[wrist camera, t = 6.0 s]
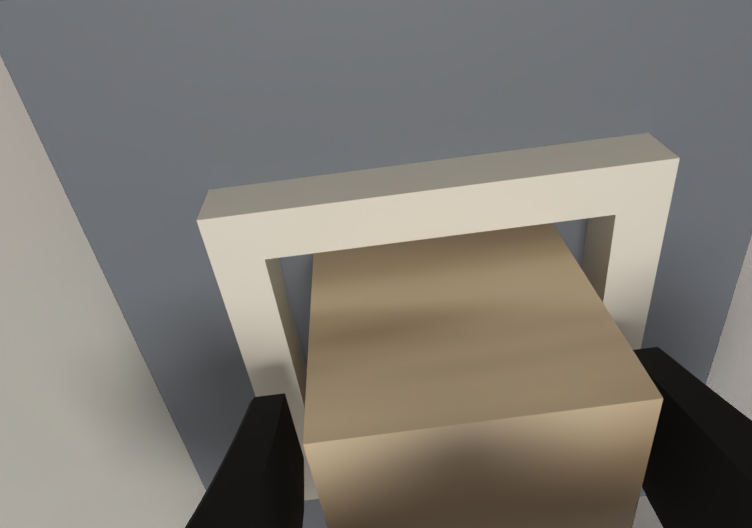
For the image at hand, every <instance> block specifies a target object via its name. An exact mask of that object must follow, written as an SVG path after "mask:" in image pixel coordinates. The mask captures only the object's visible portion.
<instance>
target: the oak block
mask: <svg viewBox="0 0 752 528" xmlns="http://www.w3.org/2000/svg"><path fill="white" fill-rule="evenodd" d="M662 402H663V397H662V395H661V394H660V392H659V391H658V389H657V387H656V386H655V384H654V383H653V381H652V380H651V378H650V376H649V375H648V373H647V372H646V370H645V368H644V367H643V365H642V364H641V362H640V361H639V359H638V357H637V356H636V354H635V353H634V351H633V350H632V348H631V346H630V345H629V343H628V342H627V340H626V338H625V337H624V335H623V334H622V332H621V331H620V329H619V327H618V326H617V324H616V323H615V321H614V320H613V318H612V316H611V315H610V313H609V312H608V310H607V308H606V307H605V305H604V304H603V302H602V301H601V299H600V297H599V296H598V294H597V293H596V291H595V290H594V288H593V286H592V285H591V283H590V282H589V280H588V279H587V277H586V275H585V274H584V272H583V271H582V269H581V267H580V266H579V264H578V263H577V261H576V260H575V258H574V256H573V255H572V253H571V252H570V250H569V249H568V247H567V245H566V244H565V242H564V241H563V239H562V237H561V236H560V234H559V233H558V231H557V230H556V228H555V226H554V225H553V223H547V224H539V225H531V226H523V227H515V228H508V229H500V230H492V231H484V232H476V233H468V234H461V235H453V236H445V237H437V238H429V239H422V240H414V241H406V242H398V243H390V244H382V245H375V246H367V247H359V248H351V249H343V250H336V251H328V252H320V253H313V271H312V289H311V307H310V325H309V343H308V361H307V378H306V396H305V414H304V432H303V447H304V450H305V453H306V457H307V460H308V463H309V467H310V470H311V473H312V477H313V480H314V484H315V487H316V490H317V494H318V497H319V500H320V504H321V507H322V510H323V514H324V517H325V520H326V524H327V527H328V528H632V525H633V521H634V517H635V512H636V508H637V504H638V500H639V496H640V492H641V488H642V484H643V480H644V476H645V472H646V468H647V463H648V459H649V455H650V451H651V447H652V443H653V439H654V435H655V431H656V427H657V423H658V419H659V415H660V410H661V406H662Z"/></svg>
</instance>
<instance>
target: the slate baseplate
mask: <svg viewBox="0 0 752 528" xmlns="http://www.w3.org/2000/svg"><path fill="white" fill-rule="evenodd" d="M0 55H1V57H2V59H3V61H4V64H5V66H6V68H7V70H8V72H9V74H10V76H11V78H12V80H13V83H14V85H15V87H16V89H17V91H18V93H19V95H20V97H21V100H22V102H23V104H24V106H25V108H26V110H27V112H28V114H29V116H30V119H31V121H32V123H33V125H34V127H35V129H36V131H37V133H38V136H39V138H40V140H41V142H42V144H43V146H44V148H45V150H46V152H47V155H48V157H49V159H50V161H51V163H52V165H53V167H54V169H55V171H56V174H57V176H58V178H59V180H60V182H61V184H62V186H63V188H64V191H65V193H66V195H67V197H68V199H69V201H70V203H71V205H72V207H73V210H74V212H75V214H76V216H77V218H78V220H79V222H80V224H81V227H82V229H83V231H84V233H85V235H86V237H87V239H88V241H89V243H90V246H91V248H92V250H93V252H94V254H95V256H96V258H97V260H98V263H99V265H100V267H101V269H102V271H103V273H104V275H105V277H106V279H107V282H108V284H109V286H110V288H111V290H112V292H113V294H114V296H115V298H116V301H117V303H118V305H119V307H120V309H121V311H122V313H123V315H124V318H125V320H126V322H127V324H128V326H129V328H130V330H131V332H132V334H133V337H134V339H135V341H136V343H137V345H138V347H139V349H140V351H141V354H142V356H143V358H144V360H145V362H146V364H147V366H148V368H149V370H150V373H151V375H152V377H153V379H154V381H155V383H156V385H157V387H158V390H159V392H160V394H161V396H162V398H163V400H164V402H165V404H166V406H167V409H168V411H169V413H170V415H171V417H172V419H173V421H174V423H175V426H176V428H177V430H178V432H179V434H180V436H181V438H182V440H183V442H184V445H185V447H186V449H187V451H188V453H189V455H190V457H191V459H192V461H193V464H194V466H195V468H196V470H197V472H198V474H199V476H200V478H201V481H202V483H203V485H204V487H205V489H206V491H207V489H208V487H209V485H210V483H211V482H212V480H213V478H214V476H215V474H216V472H217V470H218V468H219V467H220V465H221V463H222V461H223V459H224V457H225V455H226V453H227V451H228V449H229V447H230V445H231V443H232V441H233V439H234V437H235V435H236V433H237V430H238V428H239V426H240V424H241V422H242V420H243V417H244V415H245V413H246V411H247V408H248V406H249V404H250V402H251V400H252V399H253V398H254V397H259V396H267V395H275V394H283V393H285V395H286V399H287V402H288V405H289V409H290V412H291V416H292V419H293V423H294V426H295V429H296V433H297V436H298V440H299V443H300V446H301V450H302V453H303V457H304V517H303V527H302V528H328V527H327V524H326V520H325V517H324V514H323V510H322V507H321V504H320V500H319V497H318V494H317V490H316V487H315V484H314V480H313V477H312V473H311V470H310V467H309V463H308V460H307V457H306V453H305V450H304V447H303V432H304V414H305V396H306V378H307V361H308V343H309V325H310V307H311V289H312V271H313V253H320V252H328V251H336V250H343V249H351V248H359V247H367V246H375V245H382V244H390V243H398V242H406V241H414V240H422V239H429V238H437V237H445V236H453V235H461V234H468V233H476V232H484V231H492V230H500V229H508V228H515V227H523V226H531V225H539V224H547V223H553V225H554V226H555V228H556V230H557V231H558V233H559V234H560V236H561V237H562V239H563V241H564V242H565V244H566V245H567V247H568V249H569V250H570V252H571V253H572V255H573V256H574V258H575V260H576V261H577V263H578V264H579V266H580V267H581V269H582V271H583V272H584V274H585V275H586V277H587V279H588V280H589V282H590V283H591V285H592V286H593V288H594V290H595V291H596V293H597V294H598V296H599V297H600V299H601V301H602V302H603V304H604V305H605V307H606V308H607V310H608V312H609V313H610V315H611V316H612V318H613V320H614V321H615V323H616V324H617V326H618V327H619V329H620V331H621V332H622V334H623V335H624V337H625V338H626V340H627V342H628V343H629V345H630V346H631V348H632V350H636V349H644V348H652V347H659V348H660V349H661V350H663V351H664V352H665V353H666V354H668V355H669V356H670V357H672V358H673V359H674V360H675V361H676V362H678V363H679V364H680V365H681V366H683V367H684V368H685V369H686V370H688V371H689V372H690V373H691V374H693V375H694V376H695V377H696V378H698V379H699V380H700V381H701V382H703V383H704V384H706V381H707V378H708V375H709V371H710V368H711V365H712V362H713V358H714V355H715V352H716V349H717V345H718V342H719V339H720V336H721V332H722V329H723V326H724V323H725V319H726V316H727V313H728V310H729V306H730V303H731V300H732V297H733V293H734V290H735V287H736V284H737V280H738V277H739V274H740V271H741V268H742V264H743V261H744V258H745V255H746V251H747V248H748V245H749V242H750V238H751V235H752V0H0ZM640 496H646V494H645V492H644V490H643V488H641V492H640ZM640 496H639V497H640Z"/></svg>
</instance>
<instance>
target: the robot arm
mask: <svg viewBox="0 0 752 528" xmlns="http://www.w3.org/2000/svg"><path fill="white" fill-rule="evenodd" d="M633 351H634V353H635V354H636V356H637V357H638V359H639V361H640V362H641V364H642V365H643V367H644V368H645V370H646V372H647V373H648V375H649V376H650V378H651V380H652V381H653V383H654V384H655V386H656V387H657V389H658V391H659V392H660V394H661V395H662V397H663V402H662V406H661V410H660V415H659V419H658V423H657V427H656V431H655V435H654V439H653V443H652V447H651V451H650V455H649V459H648V463H647V468H646V472H645V476H644V480H643V484H642V488H643V490H644V492H645V494H646V496H647V498H648V500H649V501H650V503H651V505H652V507H653V509H654V511H655V513H656V515H657V516H658V518H659V520H660V522H661V524H662V526H663V528H752V421H751V420H750V419H749V418H747V417H746V416H745V415H743V414H742V413H741V412H740V411H738V410H737V409H736V408H734V407H733V406H732V405H730V404H729V403H728V402H727V401H725V400H724V399H723V398H721V397H720V396H719V395H718V394H716V393H715V392H714V391H713V390H711V389H710V388H709V387H708V386H706V385H705V384H704V383H703V382H701V381H700V380H699V379H698V378H696V377H695V376H694V375H693V374H691V373H690V372H689V371H688V370H686V369H685V368H684V367H683V366H681V365H680V364H679V363H678V362H676V361H675V360H674V359H673V358H672V357H670V356H669V355H668V354H666V353H665V352H664V351H663V350H661V349H660V348H659V347H652V348H644V349H636V350H633ZM303 517H304V457H303V453H302V450H301V446H300V443H299V440H298V436H297V433H296V429H295V426H294V423H293V419H292V416H291V412H290V409H289V405H288V402H287V399H286V395H285V393H283V394H275V395H267V396H259V397H254V398H253V399H252V400H251V402H250V404H249V406H248V408H247V411H246V413H245V415H244V417H243V420H242V422H241V424H240V426H239V428H238V430H237V433H236V435H235V437H234V439H233V441H232V443H231V445H230V447H229V449H228V451H227V453H226V455H225V457H224V459H223V461H222V463H221V465H220V467H219V468H218V470H217V472H216V474H215V476H214V478H213V480H212V482H211V483H210V485H209V487H208V489H207V491H206V493H205V495H204V496H203V498H202V500H201V502H200V503H199V505H198V507H197V509H196V510H195V512H194V514H193V515H192V517H191V519H190V520H189V522H188V524H187V525H186V527H185V528H302V527H303Z"/></svg>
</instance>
